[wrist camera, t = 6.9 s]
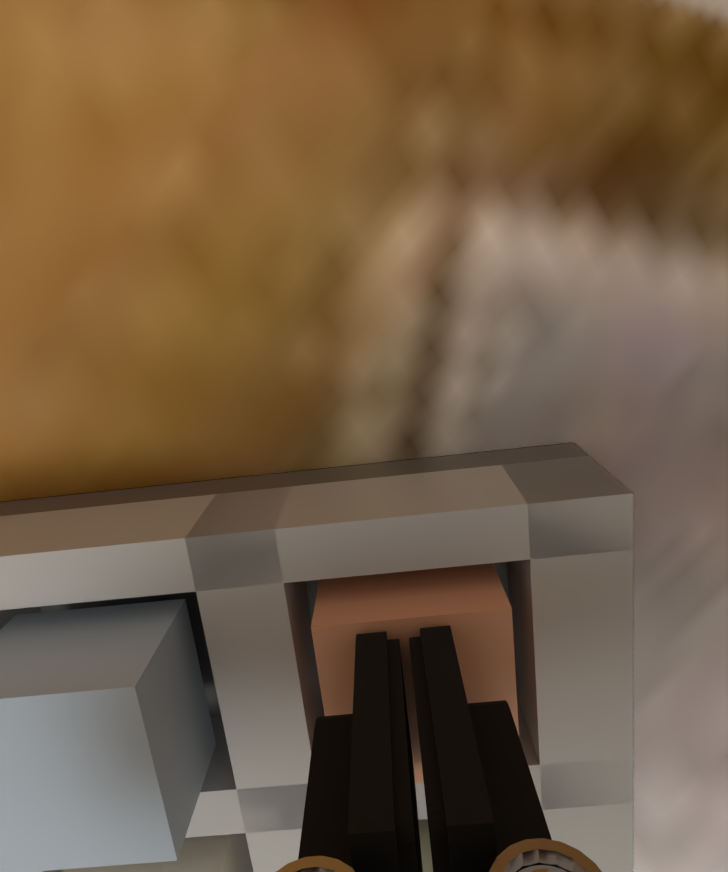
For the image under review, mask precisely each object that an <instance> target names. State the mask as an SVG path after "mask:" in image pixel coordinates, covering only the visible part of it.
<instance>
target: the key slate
mask: <svg viewBox="0 0 728 872" xmlns="http://www.w3.org/2000/svg"><path fill="white" fill-rule="evenodd" d="M215 746H216V741H215V736H214V732H213V727H212V722H211V717H210V713H209V708H208V703H207V698H206V694H205V689H204V684H203V679H202V675H201V670H200V665H199V660H198V656H197V651H196V646H195V641H194V637H193V632H192V627H191V623H190V618H189V613H188V608H187V604H186V599H177V600H167V601H156V602H146V603H135V604H125V605H114V606H104V607H93V608H83V609H73V610H62V611H52V612H41V613H31V614H20V615H15V616H14V617H13V618H12V619H11V620H10V621H9V622H8V623H7V624H6V625H5V626H4V627H3V628H2V629H1V630H0V872H35V871H49V870H62V869H75V868H88V867H101V866H114V865H127V864H140V863H153V862H166V861H177V860H178V857H179V854H180V851H181V848H182V845H183V842H184V839H185V836H186V833H187V830H188V827H189V824H190V821H191V818H192V815H193V812H194V809H195V806H196V803H197V800H198V797H199V794H200V791H201V788H202V785H203V782H204V779H205V776H206V773H207V770H208V767H209V764H210V761H211V758H212V755H213V752H214V749H215Z"/></svg>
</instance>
